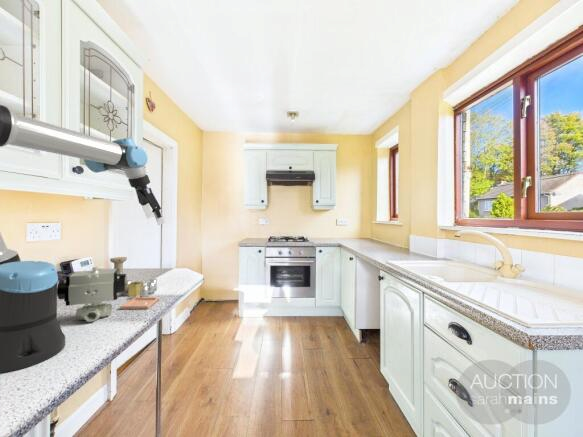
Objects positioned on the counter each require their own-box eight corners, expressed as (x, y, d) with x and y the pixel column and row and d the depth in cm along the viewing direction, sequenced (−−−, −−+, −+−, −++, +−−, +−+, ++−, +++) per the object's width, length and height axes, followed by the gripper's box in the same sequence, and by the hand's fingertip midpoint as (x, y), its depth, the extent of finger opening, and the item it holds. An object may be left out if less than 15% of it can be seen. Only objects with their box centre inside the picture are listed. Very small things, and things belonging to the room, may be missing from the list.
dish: (147, 309, 95) (147, 306, 95) (120, 309, 94) (120, 306, 94) (159, 300, 105) (159, 297, 105) (134, 300, 104) (134, 297, 104)
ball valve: (54, 329, 78) (55, 272, 77) (64, 318, 85) (64, 267, 85) (123, 318, 86) (124, 268, 86) (126, 310, 94) (127, 263, 93)
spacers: (144, 300, 104) (144, 288, 104) (106, 300, 103) (106, 288, 103) (159, 289, 119) (160, 279, 119) (127, 289, 118) (127, 279, 118)
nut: (140, 296, 109) (140, 284, 109) (124, 296, 108) (124, 284, 108) (146, 292, 115) (146, 281, 114) (131, 292, 114) (131, 281, 114)
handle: (127, 289, 118) (127, 258, 118) (110, 292, 113) (111, 259, 113) (125, 287, 121) (125, 256, 121) (109, 289, 117) (109, 258, 117)
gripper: (157, 176, 99) (175, 223, 109) (137, 171, 116) (154, 212, 125) (137, 182, 95) (158, 230, 104) (119, 176, 111) (138, 218, 120)
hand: (155, 220), depth 114 cm, fingers open, 13 cm apart
